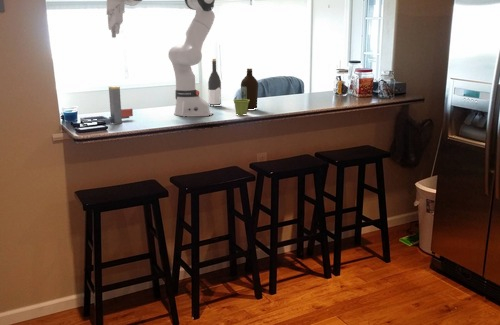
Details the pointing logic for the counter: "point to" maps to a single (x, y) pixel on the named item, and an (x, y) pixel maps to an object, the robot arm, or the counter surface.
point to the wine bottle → (214, 86)
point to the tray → (99, 118)
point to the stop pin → (115, 105)
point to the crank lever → (126, 113)
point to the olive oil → (249, 89)
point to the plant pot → (241, 106)
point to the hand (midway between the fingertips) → (115, 35)
